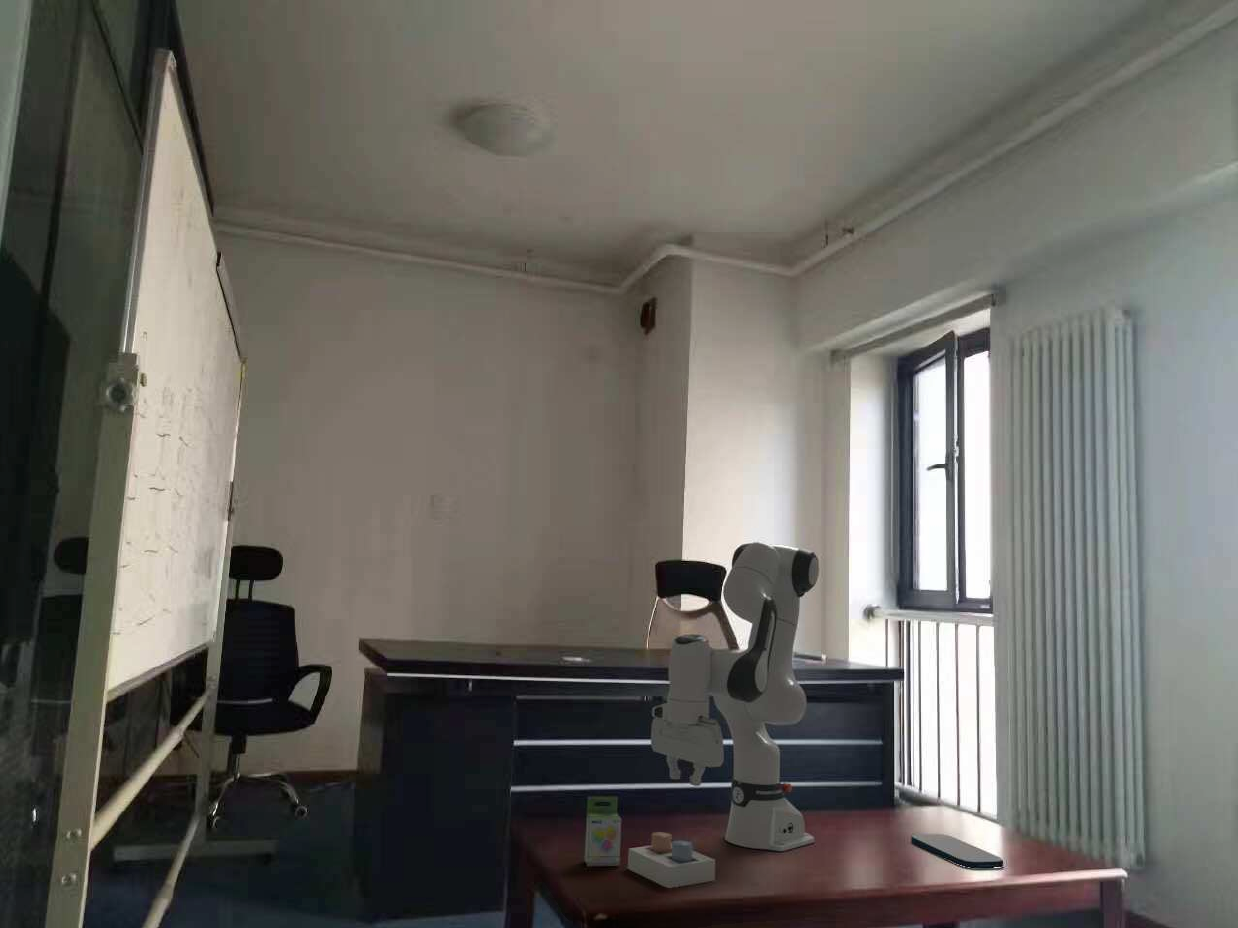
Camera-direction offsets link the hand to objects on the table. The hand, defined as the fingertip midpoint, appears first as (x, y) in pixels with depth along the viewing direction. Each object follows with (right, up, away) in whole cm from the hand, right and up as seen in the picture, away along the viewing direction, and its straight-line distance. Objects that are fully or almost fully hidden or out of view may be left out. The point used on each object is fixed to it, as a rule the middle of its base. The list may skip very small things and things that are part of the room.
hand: (684, 781), depth 184 cm
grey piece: (-1, -16, -2) cm, 16 cm away
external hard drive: (+67, -28, +28) cm, 78 cm away
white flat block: (-3, -19, 0) cm, 20 cm away
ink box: (-17, -19, +5) cm, 27 cm away
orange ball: (-5, -17, +3) cm, 18 cm away
